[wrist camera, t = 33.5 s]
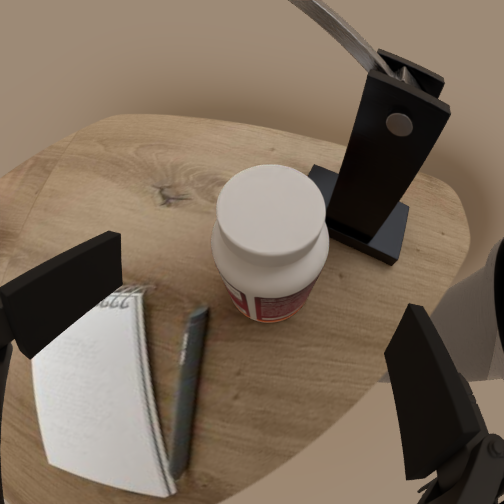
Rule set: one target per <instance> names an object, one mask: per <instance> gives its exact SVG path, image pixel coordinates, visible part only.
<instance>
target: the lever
mask: <svg viewBox="0 0 504 504" xmlns="http://www.w3.org/2000/svg"><path fill="white" fill-rule="evenodd" d="M288 1H290V2H291V3H292V4H294V5H295V6H296V7H298V8H299V9H300V10H302V11H303V12H304V13H305V14H307V15H308V16H309V17H310V18H312V19H313V20H314V21H315V22H317V23H318V24H319V25H320V26H321V27H322V28H323V29H325V30H326V31H327V32H328V33H329V34H330V35H331V36H332V37H334V39H336V40H337V41H338V42H339V43H340V44H341V45H342V46H343V47H344V48H345V49H346V50H347V51H348V52H349V53H350V54H351V55H352V56H353V57H354V58H355V59H356V60H357V61H358V62H359V63H360V64H361V65H362V67H363V68H364V69H365V70H366V71H367V72H368V73H369V70H370V69H373V70H376V71H378V72H381V73H383V74H386V75H388V76H391V77H393V78H395V79H398V80H400V81H402V82H405V83H407V84H409V85H411V86H413V87H415V88H417V89H420V90H422V89H421V87H420V86H419V84H418V83H417V82H416V80H415V79H414V78H413V76H412V75H411V74H410V72H409V71H408V70H407V68H406V67H402V68H400V69H398V70H397V71H395V72H393V71H392V70H391V68H390V67H389V66H388V65H387V64H386V62H385V61H384V60H383V59H382V58H381V57H380V56H379V54H378V53H377V52H376V51H375V50H374V49H373V48H372V47H371V46H370V45H369V44H368V43H367V42H366V41H365V40H364V38H362V37H361V36H360V34H359V33H358V32H356V31H355V30H354V29H353V28H352V27H351V26H350V25H349V24H348V23H347V22H346V21H345V20H344V19H343V18H341V17H340V16H339V15H338V14H337V13H336V12H335V11H333V10H332V9H331V8H330V7H329V6H328V5H326V4H325V3H324V2H323V1H322V0H288ZM422 91H423V90H422Z"/></svg>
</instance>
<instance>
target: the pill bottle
mask: <svg viewBox="0 0 504 504" xmlns="http://www.w3.org/2000/svg"><path fill="white" fill-rule="evenodd" d="M325 216H326V209H325V202H324V199H323V196H322V194H321V192H320V190H319V188H318V187H317V186H316V184H315V183H314V182H313V181H312V180H311V179H310V178H308V177H307V176H306V175H304V174H303V173H301V172H300V171H297V170H295V169H293V168H290V167H286V166H282V165H274V164H267V165H258V166H254V167H250V168H247V169H245V170H243V171H241V172H239V173H238V174H236V175H235V176H233V177H232V178H231V179H230V180H229V181H228V182H227V183H226V184H225V185H224V187H223V188H222V190H221V192H220V194H219V196H218V199H217V204H216V217H217V219H216V222H215V224H214V227H213V231H212V236H211V248H212V254H213V257H214V260H215V263H216V266H217V268H218V270H219V273H220V275H221V277H222V279H223V282H224V284H225V286H226V288H227V290H228V293H229V295H230V297H231V299H232V301H233V303H234V304H235V306H236V307H237V308H238V309H239V310H240V312H242V313H243V314H244V315H246V316H247V317H249V318H251V319H253V320H255V321H259V322H265V323H272V322H279V321H282V320H285V319H287V318H289V317H291V316H292V315H294V314H295V313H296V312H297V311H298V310H299V309H300V308H301V307H302V306H303V304H304V303H305V301H306V299H307V297H308V296H309V293H310V292H311V290H312V288H313V286H314V284H315V282H316V280H317V278H318V276H319V274H320V272H321V270H322V268H323V266H324V264H325V261H326V259H327V255H328V250H329V234H328V229H327V226H326V223H325Z"/></svg>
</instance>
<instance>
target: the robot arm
mask: <svg viewBox="0 0 504 504" xmlns="http://www.w3.org/2000/svg"><path fill="white" fill-rule="evenodd" d="M122 285H123V282H122V263H121V234H120V233H116V232H112V231H107V232H105V233H103V234H101V235H98V236H96V237H94V238H92V239H90V240H88V241H86V242H84V243H81V244H79V245H77V246H75V247H73V248H71V249H69V250H67V251H65V252H63V253H61V254H59V255H57V256H55V257H54V258H52V259H50V260H48V261H46V262H44V263H42V264H40V265H38V266H37V267H35V268H33V269H31V270H29V271H27V272H26V273H24V274H22V275H20V276H19V277H17V278H15V279H13V280H12V281H10V282H8V283H6V284H5V285H3V286H1V287H0V443H1V421H2V410H3V401H4V393H5V387H6V380H7V375H8V369H9V364H10V360H11V355H12V351H13V346H12V344H11V341H13V340H14V339H15V341H16V343H17V345H18V348H19V350H20V351H21V352H22V353H23V354H24V355H25V356H26V357H27V358H29V359H30V360H31V359H32V358H33V357H34V356H35V355H36V354H37V353H39V352H40V351H41V350H42V349H43V348H44V347H46V346H47V345H48V344H49V343H50V342H51V341H53V340H54V339H55V338H56V337H57V336H59V335H60V334H61V333H62V332H63V331H65V330H66V329H67V328H68V327H70V326H71V325H72V324H73V323H74V322H76V321H77V320H78V319H79V318H81V317H82V316H83V315H84V314H86V313H87V312H88V311H89V310H91V309H92V308H93V307H94V306H96V305H97V304H98V303H100V302H101V301H102V300H103V299H105V298H106V297H107V296H109V295H110V294H111V293H113V292H114V291H115V290H116V289H118V288H119V287H120V286H122ZM384 355H385V359H386V363H387V368H388V372H389V376H390V381H391V385H392V390H393V394H394V400H395V404H396V410H397V416H398V421H399V428H400V434H401V441H402V447H403V455H404V465H405V474H406V480H415V479H423V478H426V477H427V476H428V475H430V474H431V473H432V472H434V471H435V470H436V471H437V477H436V478H435V479H433V480H432V481H431V482H429V483H428V484H426V485H425V486H423V487H422V488H420V489H419V490H418V493H420V492H422V491H423V490H425V489H427V490H426V491H425V493H424V494H423V495H422V498H421V499H420V500H419V502H418V503H417V504H498V498H499V497H500V496H502V495H503V494H504V440H503V439H502V438H501V437H500V436H499V435H496V434H489V433H488V430H487V427H486V425H485V422H484V419H483V417H482V414H481V412H480V409H479V407H478V404H476V399H475V397H474V395H472V394H473V392H472V390H471V388H470V386H469V383H468V382H467V381H466V379H465V378H464V377H463V376H462V375H461V373H458V372H457V370H456V368H455V366H454V363H453V361H452V359H451V357H450V355H449V353H448V351H447V349H446V347H445V345H444V343H443V341H442V340H441V338H440V336H439V334H438V332H437V330H436V328H435V327H434V325H433V323H432V321H431V319H430V318H429V316H428V314H427V312H426V311H425V309H424V307H423V306H419V305H414V304H410V303H409V304H408V306H407V308H406V310H405V313H404V315H403V317H402V319H401V321H400V323H399V325H398V327H397V329H396V331H395V333H394V335H393V337H392V339H391V341H390V343H389V345H388V347H387V348H386V350H385V352H384ZM0 504H4V498H3V490H2V479H1V458H0ZM499 504H504V501H502V502H501V503H499Z"/></svg>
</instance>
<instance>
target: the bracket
mask: <svg viewBox="0 0 504 504" xmlns="http://www.w3.org/2000/svg"><path fill="white" fill-rule="evenodd" d="M377 53H378V54H379V56H380V57H381V58H382V59H383V60H384V61H385V62H386V64H387V65H388V66H389V67H390V68H391V70H392V71H393V72H395V71H397V70H398V69H400V68H402V67H406V68H407V70H408V71H409V72H410V74H411V75H412V76H413V78H414V79H415V80H416V82H417V83H418V84H419V86H420V87H421V89H422V90H423V91H422V90H420V89H417V88H415V87H413V86H411V85H409V84H407V83H405V82H402V81H400V80H398V79H395V78H393V77H391V76H388V75H386V74H383V73H381V72H378V71H376V70H373V69H370V70H369V73H368V75H367V80H366V83H365V87H364V91H363V95H362V98H361V102H360V105H359V109H358V112H357V116H356V119H355V123H354V126H353V130H352V133H351V136H350V140H349V143H348V146H347V149H346V153H345V156H344V159H343V162H342V165H341V168H340V172H339V174H337V173H335V172H333V171H330V170H328V169H325V168H323V167H320V166H317V165H315V164H314V165H313V167H312V169H311V171H310V173H309V175H308V178H310V179H311V180H312V181H313V182H314V183H315V184H316V186H317V187H318V188H319V190H320V192H321V194H322V196H323V199H324V202H325V209H326V216H325V223H326V226H327V229H328V234H329V237H330V238H332V239H334V240H337V241H339V242H341V243H343V244H346V245H348V246H350V247H352V248H354V249H357V250H359V251H361V252H363V253H365V254H367V255H369V256H372V257H374V258H376V259H378V260H380V261H382V262H384V263H386V264H388V265H391V266H392V265H393V264H394V263H395V262H396V261H397V260H398V258H399V254H400V250H401V246H402V241H403V237H404V232H405V227H406V222H407V217H408V211H409V206H407V205H405V204H403V203H401V202H399V201H400V199H401V198H402V196H403V195H404V193H405V191H406V190H407V188H408V187H409V185H410V184H411V182H412V181H413V179H414V178H415V176H416V174H417V173H418V171H419V169H420V168H421V166H422V165H423V163H424V161H425V160H426V158H427V156H428V155H429V153H430V151H431V149H432V148H433V146H434V144H435V143H436V141H437V139H438V137H439V136H440V134H441V132H442V130H443V128H444V127H445V125H446V123H447V121H448V119H449V117H450V115H451V112H450V106H449V105H448V104H446V103H444V102H442V101H441V100H439V99H438V98H439V95H440V93H441V91H442V89H443V87H444V84H445V82H444V78H443V77H441V76H440V75H438V74H436V73H434V72H432V71H430V70H428V69H426V68H424V67H422V66H419V65H417V64H415V63H413V62H411V61H409V60H406V59H404V58H402V57H399V56H397V55H394V54H392V53H389V52H386V51H384V50H382V49H378V51H377Z"/></svg>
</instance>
